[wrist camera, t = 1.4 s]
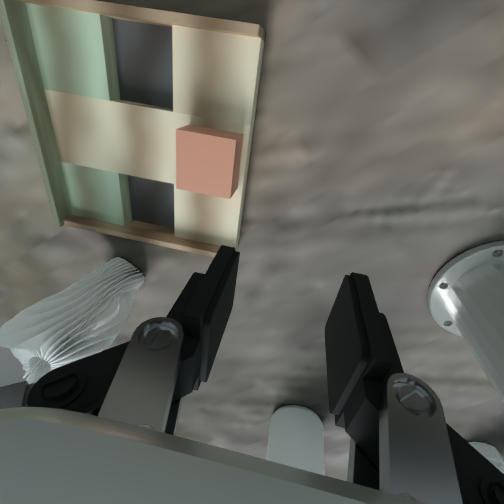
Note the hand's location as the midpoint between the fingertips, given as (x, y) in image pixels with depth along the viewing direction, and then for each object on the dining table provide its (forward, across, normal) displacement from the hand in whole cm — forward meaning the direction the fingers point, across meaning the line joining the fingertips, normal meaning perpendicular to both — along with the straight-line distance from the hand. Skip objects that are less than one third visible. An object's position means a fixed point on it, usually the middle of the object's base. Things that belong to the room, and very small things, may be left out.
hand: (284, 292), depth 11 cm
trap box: (+19, +15, 0) cm, 24 cm away
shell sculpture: (+20, +20, +18) cm, 33 cm away
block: (+17, +8, 0) cm, 19 cm away
